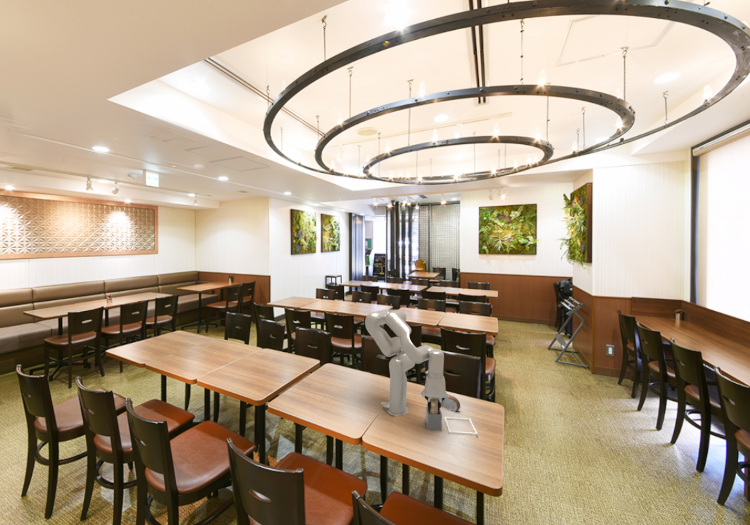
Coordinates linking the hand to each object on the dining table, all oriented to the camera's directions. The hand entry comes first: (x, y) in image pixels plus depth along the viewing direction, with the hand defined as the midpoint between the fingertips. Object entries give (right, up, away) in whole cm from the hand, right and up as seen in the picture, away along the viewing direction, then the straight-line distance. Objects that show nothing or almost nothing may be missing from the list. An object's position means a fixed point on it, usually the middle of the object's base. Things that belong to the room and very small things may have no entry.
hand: (434, 408), depth 147 cm
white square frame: (+14, -11, +1) cm, 17 cm away
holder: (0, -10, 0) cm, 10 cm away
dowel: (0, -9, 0) cm, 9 cm away
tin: (+11, -10, +19) cm, 24 cm away
